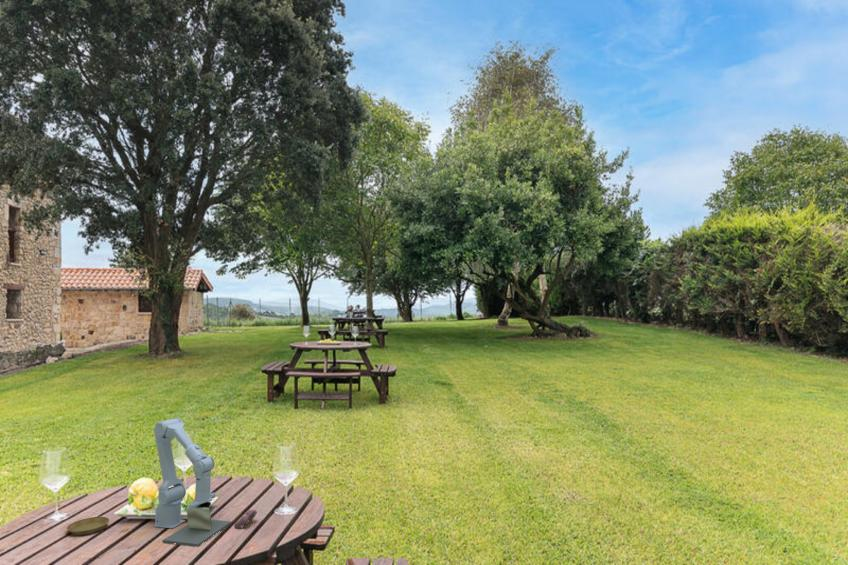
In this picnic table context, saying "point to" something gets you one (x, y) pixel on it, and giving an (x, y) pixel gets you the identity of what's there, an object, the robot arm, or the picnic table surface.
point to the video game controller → (246, 518)
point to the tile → (199, 518)
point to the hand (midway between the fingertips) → (201, 521)
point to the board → (196, 534)
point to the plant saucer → (88, 525)
